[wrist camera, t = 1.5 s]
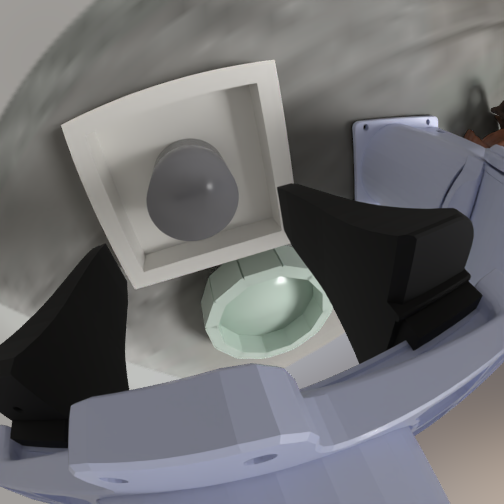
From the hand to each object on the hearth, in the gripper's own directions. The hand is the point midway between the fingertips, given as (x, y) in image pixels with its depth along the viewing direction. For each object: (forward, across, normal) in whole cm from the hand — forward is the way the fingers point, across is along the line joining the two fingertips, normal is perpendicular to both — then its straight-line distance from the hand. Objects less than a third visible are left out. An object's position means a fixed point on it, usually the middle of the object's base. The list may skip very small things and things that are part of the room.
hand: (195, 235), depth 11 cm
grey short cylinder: (+8, 0, 0) cm, 8 cm away
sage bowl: (+8, -3, +13) cm, 16 cm away
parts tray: (+8, 0, 0) cm, 9 cm away
